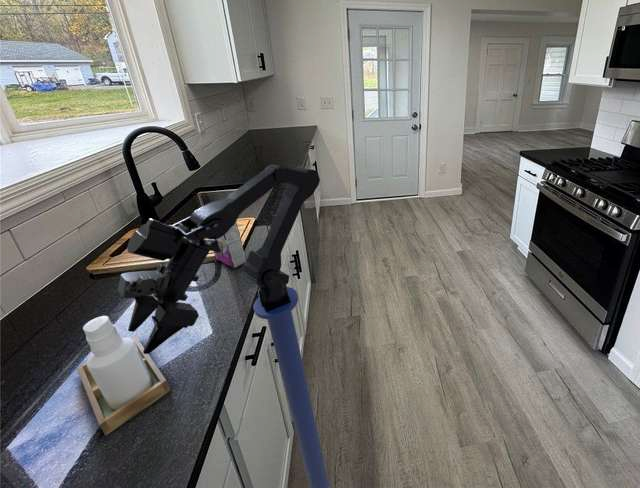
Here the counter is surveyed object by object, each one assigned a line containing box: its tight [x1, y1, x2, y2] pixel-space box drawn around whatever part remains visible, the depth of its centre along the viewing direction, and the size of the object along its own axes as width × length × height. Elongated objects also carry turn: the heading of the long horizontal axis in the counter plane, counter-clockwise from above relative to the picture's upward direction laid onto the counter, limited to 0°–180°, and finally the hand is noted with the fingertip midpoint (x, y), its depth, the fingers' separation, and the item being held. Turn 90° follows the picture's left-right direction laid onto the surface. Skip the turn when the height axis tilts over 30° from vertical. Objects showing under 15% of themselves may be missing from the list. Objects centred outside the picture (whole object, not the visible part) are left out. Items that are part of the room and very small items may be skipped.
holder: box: [76, 335, 172, 437], centre depth 64 cm, size 10×19×3 cm, turn 53°
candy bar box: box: [213, 222, 248, 269], centre depth 102 cm, size 11×5×16 cm, turn 58°
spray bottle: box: [82, 315, 153, 410], centre depth 58 cm, size 7×7×18 cm
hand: (138, 341), depth 61 cm, fingers open, 9 cm apart
